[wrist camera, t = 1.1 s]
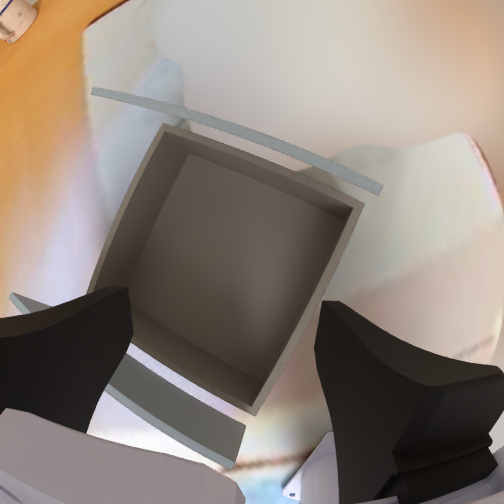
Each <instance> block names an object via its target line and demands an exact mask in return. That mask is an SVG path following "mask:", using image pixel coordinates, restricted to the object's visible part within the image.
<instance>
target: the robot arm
mask: <svg viewBox="0 0 504 504" xmlns="http://www.w3.org/2000/svg"><path fill="white" fill-rule="evenodd" d="M133 334H134V331H133V324H132V316H131V308H130V300H129V291H128V287H122V286H110V287H106V288H103V289H100V290H97V291H94V292H92V293H89V294H87V295H84V296H81V297H79V298H76V299H74V300H71V301H68V302H65V303H62V304H60V305H57V306H54V307H51V308H48V309H44V310H41V311H37V312H33V313H29V314H24V315H18V316H12V317H5V318H0V504H245V496H244V495H243V493H242V491H241V490H240V488H239V486H238V485H237V483H236V482H235V481H233V480H232V479H231V478H229V477H227V476H225V475H223V474H221V473H219V472H218V471H216V470H214V469H212V468H210V467H208V466H207V465H205V464H202V463H198V462H195V461H191V460H187V459H183V458H180V457H176V456H173V455H170V454H166V453H160V452H155V451H150V450H145V449H141V448H136V447H132V446H128V445H124V444H120V443H116V442H112V441H108V440H105V439H101V438H98V437H95V436H91V435H88V434H86V433H87V430H88V427H89V424H90V421H91V418H92V416H93V413H94V411H95V408H96V406H97V403H98V401H99V399H100V397H101V395H102V393H103V391H104V390H105V388H106V386H107V384H108V383H109V381H110V379H111V378H112V376H113V374H114V373H115V371H116V369H117V368H118V366H119V364H120V362H121V361H122V359H123V357H124V356H125V354H126V352H127V349H128V347H129V345H130V342H131V340H132V337H133ZM314 350H315V359H316V366H317V371H318V375H319V378H320V382H321V385H322V389H323V392H324V395H325V399H326V402H327V406H328V409H329V413H330V417H331V422H332V427H333V432H329V433H327V434H326V435H325V436H324V438H323V439H322V440H321V442H320V443H319V444H318V446H317V447H316V448H315V450H314V451H313V452H312V454H311V455H310V456H309V458H308V459H307V460H306V461H305V463H304V464H303V465H302V466H301V468H300V469H299V470H298V471H297V473H296V474H295V475H294V476H293V477H292V479H291V480H290V481H289V482H288V483H287V484H286V486H285V487H284V488H283V489H282V494H283V495H284V496H287V497H289V498H292V499H295V500H298V501H299V504H504V446H503V447H502V448H500V449H499V450H497V451H496V452H495V453H493V455H492V453H491V452H490V450H489V448H488V447H489V446H491V444H492V439H491V437H490V435H489V434H488V433H489V432H490V431H491V429H492V428H493V426H494V425H495V423H496V422H497V420H498V419H499V417H500V416H501V414H502V412H503V411H504V373H503V371H502V370H501V369H500V368H499V367H497V366H492V365H484V364H476V363H469V362H464V361H460V360H455V359H451V358H447V357H444V356H440V355H437V354H434V353H432V352H429V351H426V350H423V349H421V348H418V347H416V346H413V345H411V344H409V343H407V342H405V341H403V340H400V339H399V338H397V337H395V336H393V335H391V334H389V333H388V332H386V331H384V330H383V329H381V328H379V327H378V326H376V325H375V324H373V323H371V322H370V321H368V320H367V319H366V318H364V317H363V316H361V315H360V314H358V313H357V312H355V311H354V310H352V309H351V308H350V307H348V306H346V305H345V304H343V303H342V302H340V301H323V300H322V305H321V311H320V317H319V323H318V329H317V334H316V340H315V345H314ZM291 493H295V494H291Z"/></svg>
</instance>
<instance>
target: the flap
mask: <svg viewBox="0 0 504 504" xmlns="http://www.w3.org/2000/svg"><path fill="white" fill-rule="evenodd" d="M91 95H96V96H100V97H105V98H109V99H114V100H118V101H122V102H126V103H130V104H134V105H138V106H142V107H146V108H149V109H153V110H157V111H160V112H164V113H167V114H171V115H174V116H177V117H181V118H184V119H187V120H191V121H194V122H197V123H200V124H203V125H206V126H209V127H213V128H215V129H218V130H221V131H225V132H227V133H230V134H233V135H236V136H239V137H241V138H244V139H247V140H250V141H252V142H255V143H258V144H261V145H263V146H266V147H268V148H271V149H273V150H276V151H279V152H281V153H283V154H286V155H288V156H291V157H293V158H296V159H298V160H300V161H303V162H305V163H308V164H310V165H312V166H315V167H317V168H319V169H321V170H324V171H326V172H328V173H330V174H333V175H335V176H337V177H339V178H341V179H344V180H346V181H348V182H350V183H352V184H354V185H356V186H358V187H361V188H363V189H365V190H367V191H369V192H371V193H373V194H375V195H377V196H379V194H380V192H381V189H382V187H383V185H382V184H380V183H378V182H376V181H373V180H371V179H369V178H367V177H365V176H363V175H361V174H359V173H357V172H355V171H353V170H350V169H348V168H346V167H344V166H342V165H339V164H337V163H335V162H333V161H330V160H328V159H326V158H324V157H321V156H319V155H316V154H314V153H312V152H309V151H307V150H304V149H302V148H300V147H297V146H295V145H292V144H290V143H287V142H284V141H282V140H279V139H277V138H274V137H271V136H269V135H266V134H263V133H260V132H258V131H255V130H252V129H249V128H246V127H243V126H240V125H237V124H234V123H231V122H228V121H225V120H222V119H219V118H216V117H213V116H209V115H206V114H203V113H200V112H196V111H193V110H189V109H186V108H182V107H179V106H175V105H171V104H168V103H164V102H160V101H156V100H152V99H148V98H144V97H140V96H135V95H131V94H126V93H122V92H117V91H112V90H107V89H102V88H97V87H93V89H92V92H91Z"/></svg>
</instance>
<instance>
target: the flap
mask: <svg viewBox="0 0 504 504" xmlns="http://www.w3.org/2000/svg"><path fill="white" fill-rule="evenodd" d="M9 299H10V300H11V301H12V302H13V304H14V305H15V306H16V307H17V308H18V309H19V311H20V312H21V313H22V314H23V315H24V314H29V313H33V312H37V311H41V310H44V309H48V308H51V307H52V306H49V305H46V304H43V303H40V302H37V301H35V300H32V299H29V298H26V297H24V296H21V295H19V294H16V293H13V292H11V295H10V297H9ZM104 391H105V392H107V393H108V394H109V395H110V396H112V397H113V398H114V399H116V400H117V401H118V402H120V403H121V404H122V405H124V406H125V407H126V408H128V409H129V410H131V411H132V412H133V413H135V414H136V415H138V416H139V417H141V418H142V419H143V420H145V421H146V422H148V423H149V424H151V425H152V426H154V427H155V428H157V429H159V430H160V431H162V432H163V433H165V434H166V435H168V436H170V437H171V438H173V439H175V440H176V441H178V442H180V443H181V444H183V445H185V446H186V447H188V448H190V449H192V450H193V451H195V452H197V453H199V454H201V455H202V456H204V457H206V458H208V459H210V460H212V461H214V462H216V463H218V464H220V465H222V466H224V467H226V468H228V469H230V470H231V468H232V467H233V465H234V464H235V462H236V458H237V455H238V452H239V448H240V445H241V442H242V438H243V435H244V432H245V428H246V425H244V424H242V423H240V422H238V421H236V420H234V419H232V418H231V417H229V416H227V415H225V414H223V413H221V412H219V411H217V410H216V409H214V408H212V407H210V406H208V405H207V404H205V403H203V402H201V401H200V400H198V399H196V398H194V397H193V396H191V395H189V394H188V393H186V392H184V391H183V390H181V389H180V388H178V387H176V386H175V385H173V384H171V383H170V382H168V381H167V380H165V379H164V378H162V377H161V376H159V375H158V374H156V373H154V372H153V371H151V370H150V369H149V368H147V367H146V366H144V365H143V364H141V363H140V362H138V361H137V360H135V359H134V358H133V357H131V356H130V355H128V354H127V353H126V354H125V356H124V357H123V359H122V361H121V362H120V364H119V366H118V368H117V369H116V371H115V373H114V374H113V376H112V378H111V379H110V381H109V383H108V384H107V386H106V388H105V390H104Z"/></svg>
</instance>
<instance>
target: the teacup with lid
mask: <svg viewBox="0 0 504 504" xmlns="http://www.w3.org/2000/svg"><path fill="white" fill-rule="evenodd" d="M37 14H38V12H37V10H36V9H34V8H33V7H32V6H31V5H30V4H28V3H27V2H26V1H25V0H0V39H3V40H5V41H7V42H8V43H14V42H15V41H17V40H18V39H19V38H20V37H21V36H22V35H23V34H24V33H25V32H26V31H27V30H28V29H29V27H30V26H31V25H32V23H33V22H34V20H35V19H36V17H37Z"/></svg>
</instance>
